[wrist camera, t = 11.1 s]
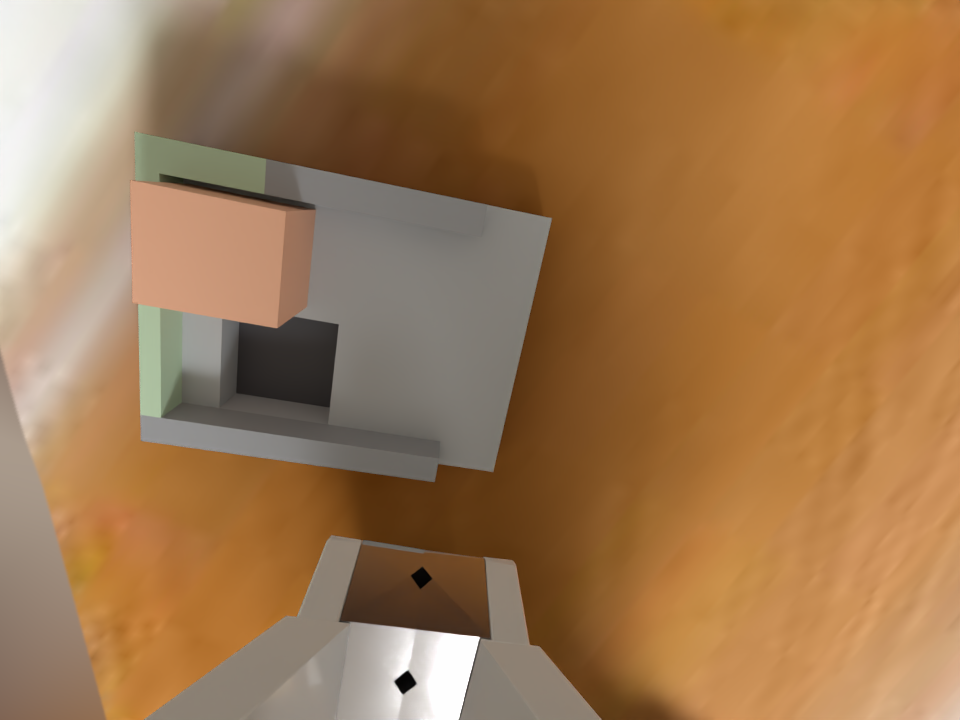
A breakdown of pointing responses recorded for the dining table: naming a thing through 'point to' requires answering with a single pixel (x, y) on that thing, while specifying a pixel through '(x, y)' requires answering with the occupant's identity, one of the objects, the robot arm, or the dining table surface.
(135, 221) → the block
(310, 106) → the dining table surface
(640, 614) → the dining table surface
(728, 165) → the dining table surface
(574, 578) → the dining table surface
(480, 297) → the tray
